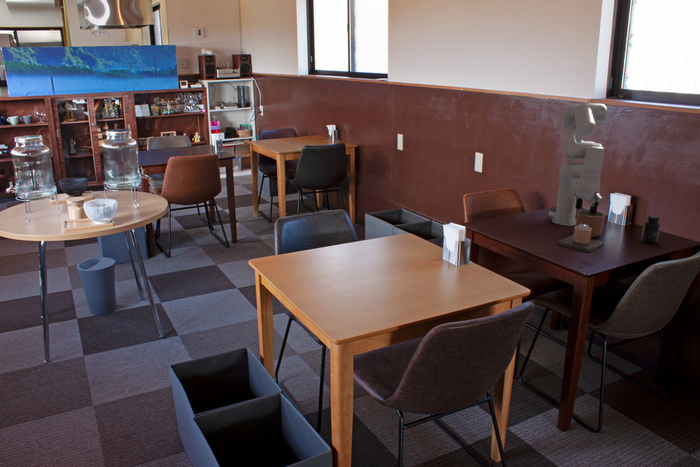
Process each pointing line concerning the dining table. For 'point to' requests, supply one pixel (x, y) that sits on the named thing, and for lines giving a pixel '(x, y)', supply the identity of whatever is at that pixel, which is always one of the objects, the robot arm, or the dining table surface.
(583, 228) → the cylinder on square base
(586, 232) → the wooden mug
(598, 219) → the planter
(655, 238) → the supplement bottle
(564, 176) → the robot arm
